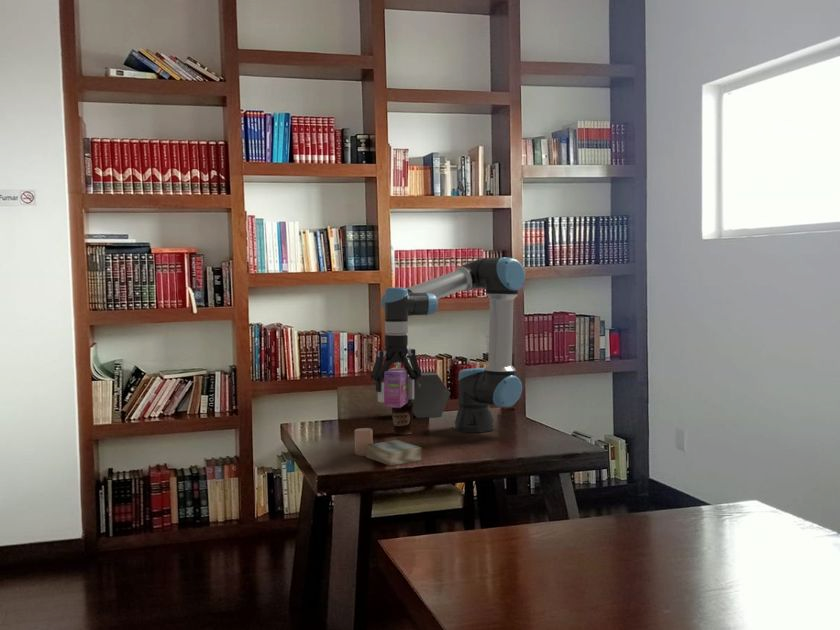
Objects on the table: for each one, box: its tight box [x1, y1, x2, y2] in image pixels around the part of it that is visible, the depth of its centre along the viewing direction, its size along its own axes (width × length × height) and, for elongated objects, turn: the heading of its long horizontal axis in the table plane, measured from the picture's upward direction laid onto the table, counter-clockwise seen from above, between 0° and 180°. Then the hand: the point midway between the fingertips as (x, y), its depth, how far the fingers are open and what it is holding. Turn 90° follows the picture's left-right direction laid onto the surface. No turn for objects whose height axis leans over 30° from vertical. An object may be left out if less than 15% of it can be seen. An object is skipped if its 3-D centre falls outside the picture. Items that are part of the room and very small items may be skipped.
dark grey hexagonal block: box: [408, 371, 451, 419], centre depth 340 cm, size 17×8×21 cm
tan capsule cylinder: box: [354, 427, 374, 457], centre depth 275 cm, size 6×6×8 cm
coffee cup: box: [391, 398, 414, 436], centre depth 306 cm, size 9×8×13 cm
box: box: [383, 367, 409, 409], centre depth 272 cm, size 10×6×12 cm, turn 167°
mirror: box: [366, 439, 422, 466], centre depth 268 cm, size 12×14×4 cm
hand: (396, 400), depth 273 cm, fingers closed on box, 11 cm apart
